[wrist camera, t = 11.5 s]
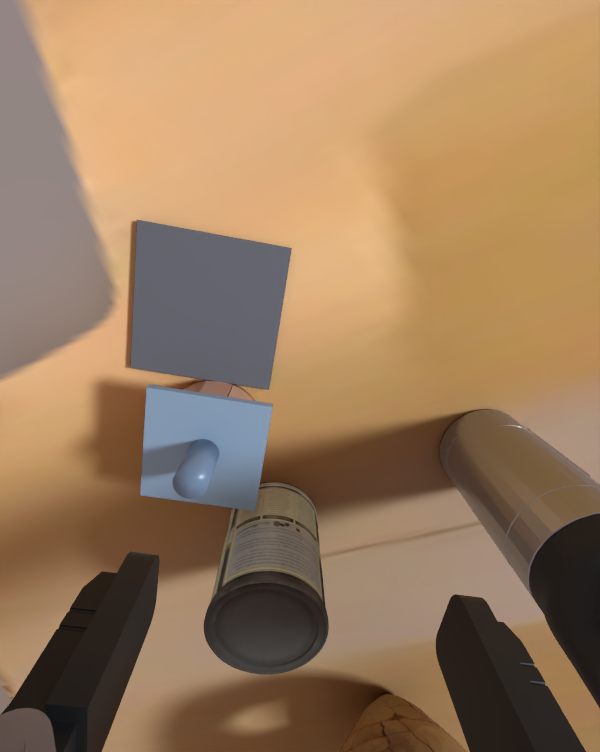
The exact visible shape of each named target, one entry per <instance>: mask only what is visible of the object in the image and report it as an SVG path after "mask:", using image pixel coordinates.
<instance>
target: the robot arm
mask: <svg viewBox="0 0 600 752" xmlns="http://www.w3.org/2000/svg"><path fill="white" fill-rule="evenodd" d="M439 453H440V460H441V464H442V466H443V468H444V469H445V471H446V473H447V474H448V475H449V477H450V478H451V480H452V481H453V483H454V484H455V486H456V487H457V489H458V490H459V492H460V493H461V495H462V496H463V497H464V499H465V500H466V502H467V503H468V505H469V506H470V508H471V509H472V510H473V512H474V513H475V515H476V516H477V518H478V519H479V521H480V522H481V524H482V525H483V526H484V528H485V529H486V531H487V532H488V534H489V535H490V537H491V538H492V539H493V541H494V542H495V544H496V545H497V547H498V548H499V550H500V551H501V552H502V554H503V555H504V557H505V558H506V560H507V561H508V563H509V564H510V565H511V567H512V568H513V570H514V571H515V572H516V574H517V575H518V577H519V578H520V580H521V581H522V583H523V584H524V586H525V587H526V588H527V590H528V591H529V593H530V594H531V596H532V597H533V598H534V600H535V602H536V603H537V604H538V606H539V607H540V609H541V610H542V612H543V613H544V615H545V618H546V621H547V623H548V625H549V627H550V629H551V631H552V633H553V635H554V636H555V638H556V640H557V641H558V643H559V645H560V646H561V648H562V649H563V651H564V652H565V654H566V655H567V657H568V658H569V660H570V661H571V663H572V664H573V666H574V667H575V669H576V671H577V672H578V674H579V675H580V677H581V679H582V680H583V682H584V683H585V685H586V687H587V688H588V690H589V691H590V693H591V695H592V696H593V698H594V700H595V701H596V703H597V704H598V706H599V708H600V484H598V483H597V482H596V481H594V480H593V479H592V478H591V477H590V475H589V474H588V473H586V472H585V471H584V470H582V469H581V468H580V467H578V466H577V465H576V464H574V463H573V462H572V461H570V460H569V459H568V458H566V457H565V456H564V455H562V454H561V453H560V452H559V451H557V450H556V449H555V448H553V447H552V446H551V445H549V444H548V443H547V442H545V441H544V440H543V439H541V438H540V437H539V436H537V435H536V434H535V433H533V432H532V431H531V430H529V429H527V428H525V427H524V426H522V425H521V424H520V423H518V422H517V421H516V420H514V419H513V418H512V417H510V416H509V415H507V414H505V413H503V412H501V411H496V410H491V409H490V410H478V411H474V412H471V413H468V414H466V415H464V416H462V417H461V418H459V419H458V420H456V421H455V422H454V423H453V424H452V425H451V426H450V427H449V428H448V430H447V431H446V433H445V434H444V436H443V438H442V441H441V444H440V449H439ZM158 572H159V556H158V555H150V554H142V553H134V552H130V553H128V555H127V556H126V558H125V560H124V562H123V563H122V565H121V567H120V569H119V571H118V572H117V573H110V572H101V573H100V574H99V575H97V576H96V577H95V578H94V579H93V580H91V581H90V582H89V583H88V584H87V585H86V586H84V587H83V588H82V590H81V592H80V593H79V595H78V596H77V598H76V600H75V601H74V603H73V604H72V606H71V608H70V611H69V612H67V614H66V616H65V617H64V619H63V620H62V622H61V624H60V626H59V629H57V630H56V632H55V633H54V635H53V636H52V638H51V640H50V641H49V643H48V644H47V646H46V648H45V649H44V651H43V652H42V654H41V656H40V657H39V659H38V660H37V662H36V664H35V665H34V667H33V668H32V670H31V671H30V673H29V675H28V676H27V678H26V679H25V681H24V683H23V684H22V686H21V687H20V689H19V691H18V692H17V694H16V695H15V697H14V699H13V700H12V701H11V703H10V704H9V706H8V707H7V708H6V709H5V710H4V711H3V713H2V714H1V715H0V752H102V749H103V747H104V744H105V741H106V739H107V736H108V734H109V731H110V728H111V726H112V723H113V721H114V718H115V715H116V713H117V710H118V708H119V705H120V702H121V700H122V697H123V694H124V692H125V689H126V687H127V684H128V681H129V679H130V676H131V674H132V671H133V668H134V666H135V663H136V661H137V658H138V655H139V653H140V650H141V648H142V645H143V642H144V640H145V637H146V635H147V632H148V629H149V627H150V624H151V621H152V617H153V613H154V609H155V604H156V596H157V584H158ZM436 653H437V658H438V662H439V665H440V668H441V671H442V673H443V676H444V679H445V682H446V685H447V688H448V690H449V693H450V696H451V699H452V702H453V705H454V708H455V710H456V713H457V716H458V719H459V722H460V725H461V727H462V730H463V733H464V736H465V739H466V742H467V744H468V747H469V750H470V752H586V751H585V749H584V748H583V746H582V744H581V742H580V741H579V739H578V737H577V736H576V734H575V732H574V731H573V729H572V727H571V725H570V724H569V722H568V720H567V719H566V717H565V715H564V713H563V712H562V710H561V708H560V707H559V705H558V703H557V701H556V700H555V698H554V696H553V695H552V693H551V691H550V689H549V688H548V686H546V685H545V681H544V679H543V677H542V676H541V674H540V672H539V671H538V669H537V668H535V666H534V662H533V660H532V659H531V657H530V655H529V653H528V652H527V650H526V648H525V647H524V645H523V643H522V642H521V640H520V639H519V638H518V637H517V636H516V635H515V634H514V633H513V632H512V631H511V630H510V629H509V628H508V627H507V625H506V624H505V623H504V622H497V620H496V618H495V616H494V615H493V613H492V611H491V609H490V607H489V605H488V604H487V602H486V601H485V600H484V599H483V598H479V597H471V596H463V595H453V596H452V597H451V599H450V601H449V604H448V606H447V609H446V612H445V614H444V617H443V620H442V622H441V625H440V628H439V630H438V633H437V637H436Z"/></svg>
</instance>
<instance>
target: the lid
mask: <svg viewBox="0 0 600 752" xmlns="http://www.w3.org/2000/svg"><path fill="white" fill-rule="evenodd" d="M272 407H273V404H271V403H264V402H258V401H252V400H245V399H239V398H233V397H226V396H220V395H214V394H207V393H201V392H194V391H188V390H182V389H175V388H169V387H163V386H156V385H149V386H148V387H147V390H146V406H145V423H144V440H143V456H142V473H141V489H140V495H141V496H149V497H156V498H163V499H170V500H178V501H185V502H192V503H199V504H207V505H214V506H221V507H228V508H236V509H243V510H250V511H255V509H256V503H257V497H258V491H259V485H260V479H261V473H262V467H263V461H264V455H265V449H266V443H267V437H268V431H269V425H270V419H271V413H272Z"/></svg>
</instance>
